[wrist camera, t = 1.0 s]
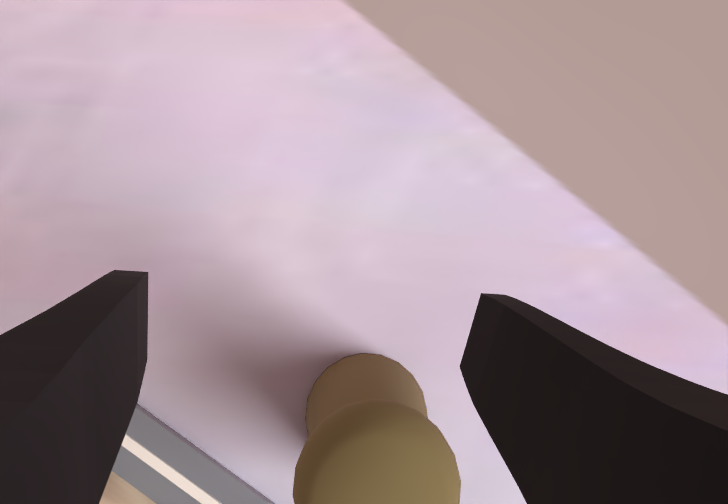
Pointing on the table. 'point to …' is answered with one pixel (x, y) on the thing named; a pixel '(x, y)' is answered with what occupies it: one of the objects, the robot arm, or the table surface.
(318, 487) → the cork
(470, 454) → the table surface
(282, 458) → the table surface
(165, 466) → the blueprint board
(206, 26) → the table surface
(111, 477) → the birch block
